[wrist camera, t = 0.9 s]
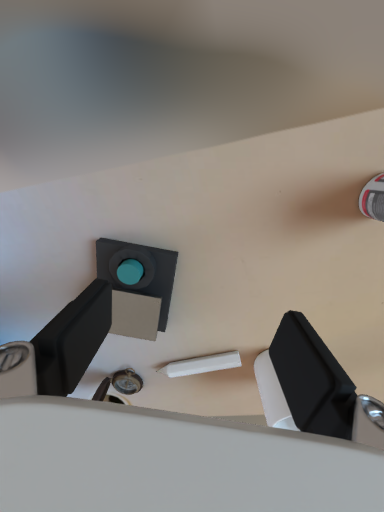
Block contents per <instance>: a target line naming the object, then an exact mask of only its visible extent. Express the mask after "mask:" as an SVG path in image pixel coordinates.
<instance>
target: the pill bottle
mask: <svg viewBox="0 0 384 512" xmlns="http://www.w3.org/2000/svg"><path fill="white" fill-rule="evenodd" d="M359 208H360V210H361V212H362V213H363V214H364V215H365V216H367V217H369V218H373V219H375V220H379V221H382V222H384V173H381V174H379V175H377V176H375V177H374V178H372V179H371V180H370V181H369V182H368V183H367V184H366V185H365V187H364V188H363V190H362V192H361V194H360V197H359Z"/></svg>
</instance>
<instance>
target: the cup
mask: <svg viewBox="0 0 384 512" xmlns="http://www.w3.org/2000/svg"><path fill="white" fill-rule="evenodd" d="M254 371H255V376H256V380H257V384H258V388H259V392H260V396H261V400H262V404H263V408H264V412H265V416H266V420H267V424H268V426H269V427H275V428H282V429H288V430H294V431H300V429H298V428H297V427H296V425H295V423H294V420H293V418H292V415H291V412H290V410H289V407H288V404H287V402H286V399H285V396H284V394H283V391H282V388H281V386H280V383H279V380H278V378H277V375H276V372H275V370H274V367H273V364H272V362H271V359H270V356H269V349H268V350H265V351H263V352H262V353H260V354H259V355H258V356H257V358H256V360H255V362H254Z"/></svg>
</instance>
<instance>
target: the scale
mask: <svg viewBox="0 0 384 512" xmlns="http://www.w3.org/2000/svg"><path fill="white" fill-rule="evenodd" d="M96 257H97V278H99V279H105V280H108V281H109V283H111V284H112V287H113V288H118V289H124V290H129V291H135V292H140V293H146V294H151V295H157V296H162V302H161V309H160V316H159V323H158V330H157V331H161V332H165V329H166V325H167V319H168V313H169V306H170V300H171V294H172V288H173V282H174V276H175V270H176V263H177V257H178V252H175V251H170V250H164V249H159V248H154V247H148V246H143V245H138V244H132V243H127V242H122V241H116V240H111V239H106V238H100V239H98V240H97V241H96ZM127 259H134V260H137V261H138V262H140V263H141V265H142V266H143V270H144V271H143V275H142V276H141V278H140V280H139V281H138V282H137V283H135V284H132V285H129V284H125V283H123V282H122V281H120V279H119V278H118V276H117V269H118V267H119V266H120V265H121V264H122V263H123V262H124V261H125V260H127Z"/></svg>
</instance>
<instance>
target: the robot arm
mask: <svg viewBox="0 0 384 512" xmlns="http://www.w3.org/2000/svg"><path fill="white" fill-rule="evenodd" d="M111 325H112V284H111V283H109V281H108V280H105V279H99V278H96V279H95V280H94V281H93V282H92V283H91V284H90V285H89V286H88V287H87V288H86V289H85V290H84V291H83V292H82V293H81V294H80V295H79V296H78V297H77V298H76V299H75V300H74V301H71V302H70V303H69V304H68V305H67V306H66V307H65V308H63V309H62V310H61V311H60V312H59V313H58V314H57V315H56V316H55V317H54V318H53V319H52V320H51V321H50V322H49V323H48V324H47V325H46V326H45V327H44V328H43V329H42V330H41V331H40V332H39V333H38V334H37V335H36V336H35V337H34V338H33V339H32V340H31V341H30V342H27V341H14V342H9V343H6V344H4V345H1V346H0V512H384V404H383V403H382V402H381V401H379V400H377V399H375V398H373V397H371V396H368V395H363V394H361V395H357V394H356V393H355V389H356V388H357V387H356V386H355V385H354V383H353V382H352V381H351V379H350V378H349V376H348V375H347V374H346V372H345V371H344V370H343V368H342V367H341V365H340V364H339V363H338V361H337V360H336V359H335V357H334V356H333V355H332V353H331V352H330V350H329V349H328V348H327V346H326V345H325V344H324V342H323V341H322V339H321V338H320V337H319V335H318V334H317V333H316V331H315V330H314V328H313V327H312V326H311V324H310V323H309V322H308V320H307V319H306V317H305V316H304V315H303V313H301V312H297V311H291V310H290V311H288V312H287V313H285V314H284V316H283V318H282V320H281V323H280V325H279V327H278V329H277V332H276V334H275V336H274V338H273V341H272V343H271V345H270V347H269V356H270V359H271V362H272V364H273V367H274V370H275V372H276V375H277V378H278V380H279V383H280V386H281V388H282V391H283V394H284V396H285V399H286V402H287V404H288V407H289V410H290V412H291V415H292V418H293V420H294V423H295V425H296V427H297V428H298V429H300V431H294V430H288V429H282V428H275V427H269V426H263V425H256V424H249V423H243V422H237V421H231V420H224V419H218V418H211V417H204V416H198V415H191V414H185V413H178V412H171V411H165V410H158V409H151V408H144V407H137V406H130V405H123V404H117V403H110V402H102V401H94V400H86V399H79V398H71V397H66V396H67V395H68V394H72V393H73V391H74V390H75V388H76V386H77V385H78V383H79V381H80V380H81V378H82V376H83V375H84V373H85V371H86V369H87V368H88V366H89V364H90V363H91V361H92V359H93V358H94V356H95V354H96V353H97V351H98V349H99V347H100V346H101V344H102V342H103V341H104V339H105V337H106V336H107V334H108V332H109V330H110V328H111Z"/></svg>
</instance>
